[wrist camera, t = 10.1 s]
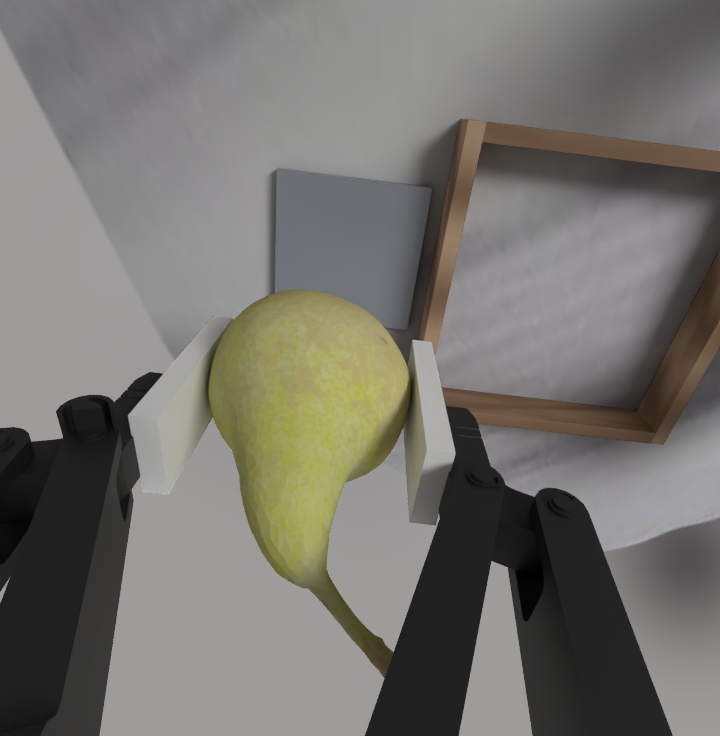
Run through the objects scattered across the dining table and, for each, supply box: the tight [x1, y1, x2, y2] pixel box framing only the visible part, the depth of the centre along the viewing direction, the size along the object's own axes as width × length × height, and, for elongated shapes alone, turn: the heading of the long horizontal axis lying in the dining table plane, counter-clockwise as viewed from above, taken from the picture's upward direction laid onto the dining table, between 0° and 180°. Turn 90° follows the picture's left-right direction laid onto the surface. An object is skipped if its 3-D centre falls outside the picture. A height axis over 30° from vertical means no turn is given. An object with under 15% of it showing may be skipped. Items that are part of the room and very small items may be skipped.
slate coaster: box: [275, 168, 432, 330], centre depth 31 cm, size 10×10×1 cm
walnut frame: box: [417, 119, 720, 445], centre depth 31 cm, size 20×20×3 cm
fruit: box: [208, 290, 411, 678], centre depth 13 cm, size 7×8×12 cm
